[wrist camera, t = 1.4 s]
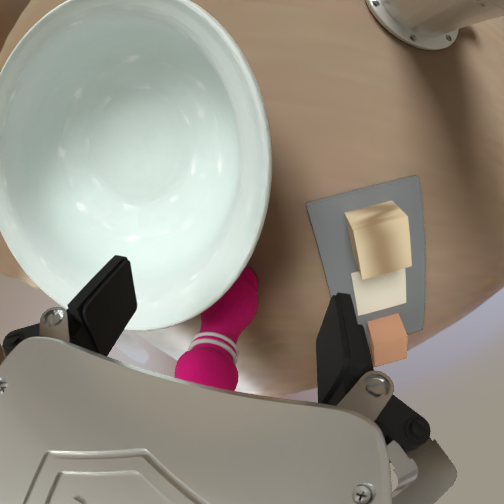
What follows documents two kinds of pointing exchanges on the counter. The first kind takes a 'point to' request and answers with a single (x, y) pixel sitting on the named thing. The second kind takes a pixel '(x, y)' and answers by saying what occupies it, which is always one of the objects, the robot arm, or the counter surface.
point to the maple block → (379, 239)
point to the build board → (343, 263)
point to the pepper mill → (220, 336)
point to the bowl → (133, 154)
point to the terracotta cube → (387, 339)
